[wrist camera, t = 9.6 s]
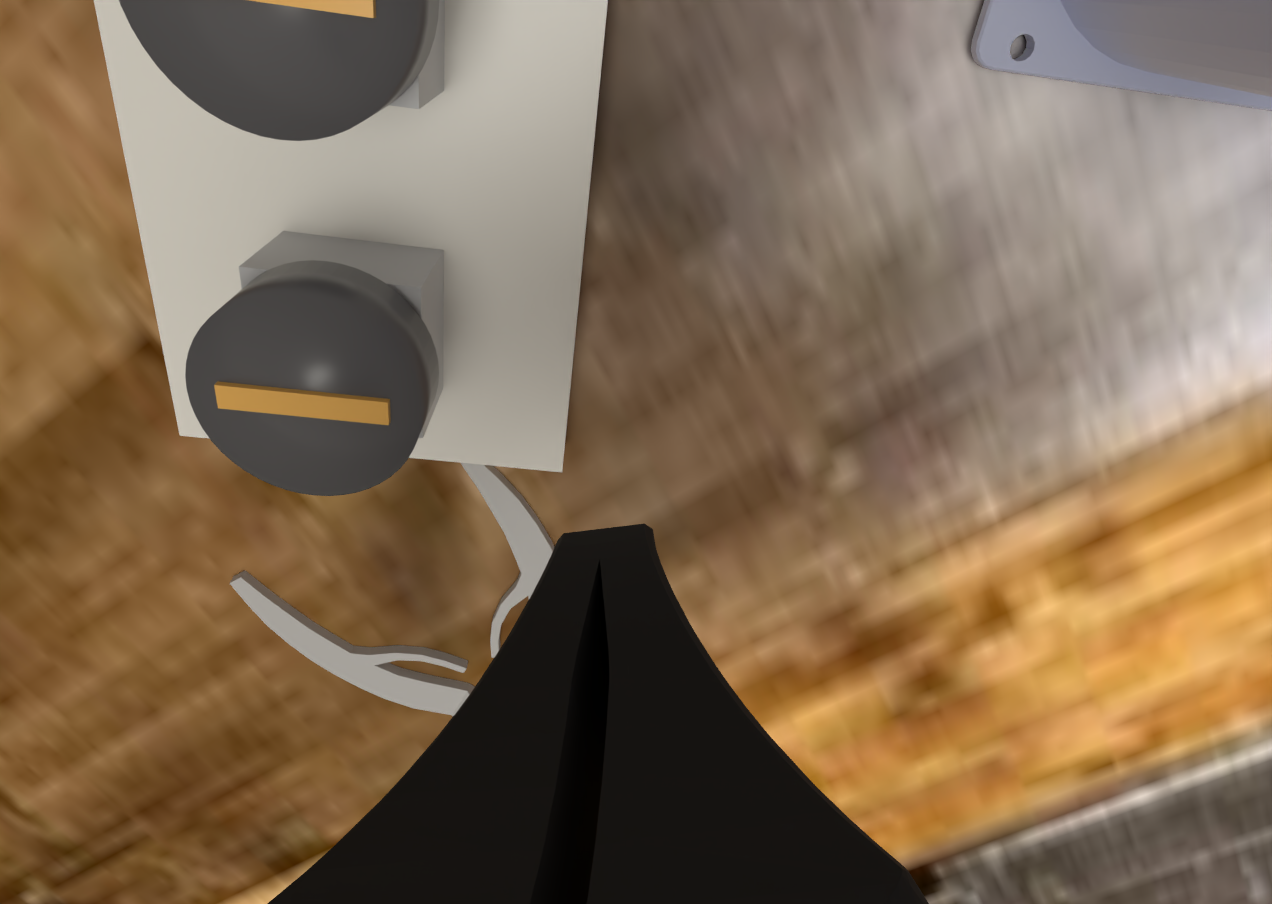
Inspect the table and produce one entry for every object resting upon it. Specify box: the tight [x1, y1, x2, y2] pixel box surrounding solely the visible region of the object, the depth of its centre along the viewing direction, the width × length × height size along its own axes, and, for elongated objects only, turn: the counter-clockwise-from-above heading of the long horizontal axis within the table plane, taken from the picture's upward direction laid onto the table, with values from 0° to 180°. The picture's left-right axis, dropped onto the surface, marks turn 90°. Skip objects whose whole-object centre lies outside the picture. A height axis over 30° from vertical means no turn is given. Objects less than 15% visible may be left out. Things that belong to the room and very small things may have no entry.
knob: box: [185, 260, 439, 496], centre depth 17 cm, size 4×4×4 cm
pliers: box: [230, 463, 555, 716], centre depth 27 cm, size 10×2×15 cm
